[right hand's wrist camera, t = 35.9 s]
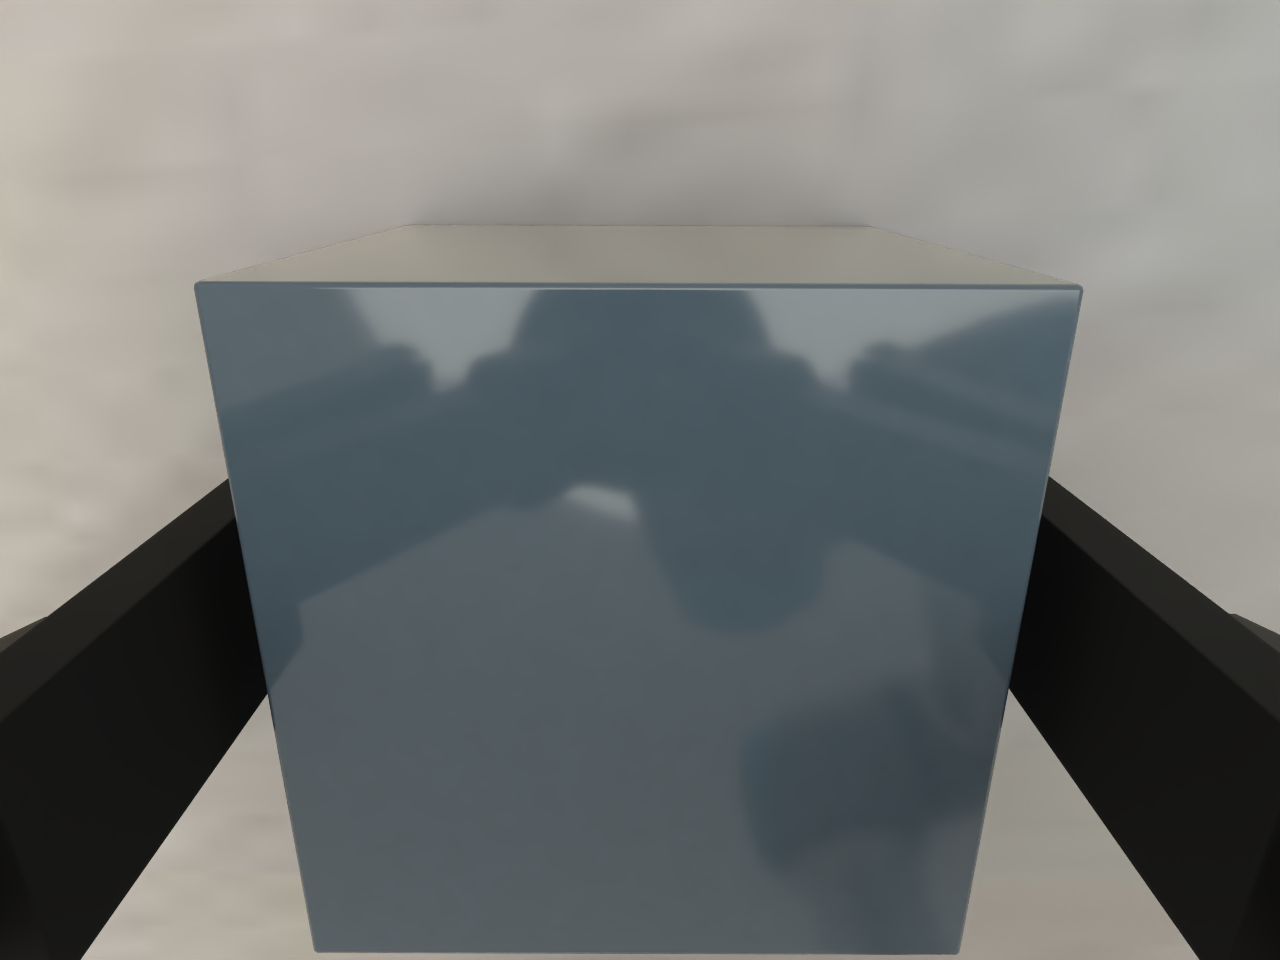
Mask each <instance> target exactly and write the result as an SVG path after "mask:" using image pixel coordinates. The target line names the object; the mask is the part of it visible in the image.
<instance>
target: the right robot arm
mask: <svg viewBox="0 0 1280 960" xmlns="http://www.w3.org/2000/svg"><path fill="white" fill-rule="evenodd" d="M1009 689H1010V691H1011V692H1012V693H1013V695H1014V696H1015V698H1016V699H1017V701H1018V702H1019V703H1020V705H1021V706H1022V708H1023V709H1024V711H1025V712H1026V713H1027V715H1028V716H1029V718H1030V719H1031V721H1032V722H1033V723H1034V725H1035V726H1036V728H1037V729H1038V730H1039V732H1040V733H1041V735H1042V736H1043V738H1044V739H1045V740H1046V742H1047V743H1048V745H1049V746H1050V748H1051V749H1052V750H1053V752H1054V753H1055V755H1056V756H1057V758H1058V759H1059V760H1060V762H1061V763H1062V765H1063V766H1064V768H1065V769H1066V770H1067V772H1068V773H1069V775H1070V776H1071V777H1072V779H1073V780H1074V782H1075V783H1076V785H1077V786H1078V787H1079V789H1080V790H1081V792H1082V793H1083V795H1084V796H1085V797H1086V799H1087V800H1088V802H1089V803H1090V805H1091V806H1092V807H1093V809H1094V810H1095V812H1096V813H1097V814H1098V816H1099V817H1100V819H1101V820H1102V822H1103V823H1104V824H1105V826H1106V827H1107V829H1108V830H1109V832H1110V833H1111V834H1112V836H1113V837H1114V839H1115V840H1116V842H1117V843H1118V844H1119V846H1120V847H1121V849H1122V850H1123V851H1124V853H1125V854H1126V856H1127V857H1128V859H1129V860H1130V861H1131V863H1132V864H1133V866H1134V867H1135V869H1136V870H1137V871H1138V873H1139V874H1140V876H1141V877H1142V879H1143V880H1144V881H1145V883H1146V884H1147V886H1148V887H1149V888H1150V890H1151V891H1152V893H1153V894H1154V896H1155V897H1156V898H1157V900H1158V901H1159V903H1160V904H1161V906H1162V907H1163V908H1164V910H1165V911H1166V913H1167V914H1168V916H1169V917H1170V918H1171V920H1172V921H1173V923H1174V924H1175V926H1176V927H1177V928H1178V930H1179V931H1180V933H1181V934H1182V935H1183V937H1184V938H1185V940H1186V941H1187V943H1188V944H1189V945H1190V947H1191V948H1192V950H1193V951H1194V953H1195V954H1196V955H1197V957H1198V958H1199V960H1280V635H1279V634H1277V633H1275V632H1273V631H1271V630H1268V629H1266V628H1264V627H1262V626H1260V625H1258V624H1256V623H1254V622H1252V621H1249V620H1247V619H1245V618H1243V617H1241V616H1239V615H1237V614H1228V613H1227V612H1226V611H1224V610H1223V609H1222V608H1221V607H1219V606H1218V605H1217V604H1215V603H1214V602H1213V601H1211V600H1210V599H1209V598H1207V597H1206V596H1205V595H1204V594H1202V593H1201V592H1200V591H1198V590H1197V589H1196V588H1194V587H1193V586H1192V585H1190V584H1189V583H1188V582H1187V581H1185V580H1184V579H1183V578H1181V577H1180V576H1179V575H1177V574H1176V573H1175V572H1174V571H1172V570H1171V569H1170V568H1168V567H1167V566H1166V565H1164V564H1163V563H1162V562H1160V561H1159V560H1158V559H1157V558H1155V557H1154V556H1153V555H1151V554H1150V553H1149V552H1147V551H1146V550H1145V549H1143V548H1142V547H1141V546H1140V545H1138V544H1137V543H1136V542H1134V541H1133V540H1132V539H1130V538H1129V537H1128V536H1126V535H1125V534H1124V533H1123V532H1121V531H1120V530H1119V529H1117V528H1116V527H1115V526H1113V525H1112V524H1111V523H1109V522H1108V521H1107V520H1106V519H1104V518H1103V517H1102V516H1100V515H1099V514H1098V513H1096V512H1095V511H1094V510H1092V509H1091V508H1090V507H1089V506H1087V505H1086V504H1085V503H1083V502H1082V501H1081V500H1079V499H1078V498H1077V497H1075V496H1074V495H1073V494H1072V493H1070V492H1069V491H1068V490H1066V489H1065V488H1064V487H1062V486H1061V485H1060V484H1059V483H1057V482H1056V481H1055V480H1053V479H1052V478H1051V477H1049V476H1048V481H1047V487H1046V492H1045V497H1044V503H1043V508H1042V513H1041V519H1040V524H1039V529H1038V535H1037V540H1036V545H1035V551H1034V556H1033V561H1032V567H1031V572H1030V577H1029V583H1028V588H1027V593H1026V599H1025V604H1024V609H1023V615H1022V620H1021V625H1020V631H1019V636H1018V641H1017V647H1016V652H1015V657H1014V663H1013V668H1012V673H1011V679H1010V684H1009ZM267 694H268V693H267V687H266V682H265V676H264V671H263V665H262V660H261V654H260V649H259V643H258V638H257V632H256V627H255V621H254V616H253V610H252V604H251V599H250V593H249V588H248V582H247V577H246V571H245V566H244V560H243V555H242V549H241V544H240V538H239V533H238V527H237V522H236V516H235V511H234V505H233V500H232V494H231V489H230V483H229V478H228V479H227V480H225V481H224V482H223V483H222V484H220V485H219V486H218V487H216V488H215V489H214V490H212V491H211V492H210V493H208V494H207V495H206V496H205V497H203V498H202V499H201V500H199V501H198V502H197V503H195V504H194V505H193V506H191V507H190V508H189V509H188V510H186V511H185V512H184V513H182V514H181V515H180V516H178V517H177V518H176V519H174V520H173V521H172V522H171V523H169V524H168V525H167V526H165V527H164V528H163V529H161V530H160V531H159V532H157V533H156V534H155V535H154V536H152V537H151V538H150V539H148V540H147V541H146V542H144V543H143V544H142V545H140V546H139V547H138V548H137V549H135V550H134V551H133V552H131V553H130V554H129V555H127V556H126V557H125V558H124V559H122V560H121V561H120V562H118V563H117V564H116V565H114V566H113V567H112V568H110V569H109V570H108V571H107V572H105V573H104V574H103V575H101V576H100V577H99V578H97V579H96V580H95V581H93V582H92V583H91V584H90V585H88V586H87V587H86V588H84V589H83V590H82V591H80V592H79V593H78V594H76V595H75V596H74V597H73V598H71V599H70V600H69V601H67V602H66V603H65V604H63V605H62V606H61V607H59V608H58V609H57V610H56V611H54V612H53V613H52V614H50V615H49V616H48V617H44V618H42V619H40V620H38V621H36V622H34V623H32V624H29V625H27V626H25V627H23V628H21V629H19V630H17V631H15V632H13V633H11V634H8V635H6V636H4V637H2V638H0V960H81V958H82V957H83V955H84V954H85V953H86V951H87V950H88V948H89V947H90V945H91V944H92V943H93V941H94V940H95V938H96V937H97V935H98V934H99V933H100V931H101V930H102V928H103V927H104V926H105V924H106V923H107V921H108V920H109V918H110V917H111V916H112V914H113V913H114V911H115V910H116V908H117V907H118V906H119V904H120V903H121V901H122V900H123V898H124V897H125V896H126V894H127V893H128V891H129V890H130V889H131V887H132V886H133V884H134V883H135V881H136V880H137V879H138V877H139V876H140V874H141V873H142V871H143V870H144V869H145V867H146V866H147V864H148V863H149V861H150V860H151V859H152V857H153V856H154V854H155V853H156V852H157V850H158V849H159V847H160V846H161V844H162V843H163V842H164V840H165V839H166V837H167V836H168V834H169V833H170V832H171V830H172V829H173V827H174V826H175V824H176V823H177V822H178V820H179V819H180V817H181V816H182V815H183V813H184V812H185V810H186V809H187V807H188V806H189V805H190V803H191V802H192V800H193V799H194V797H195V796H196V795H197V793H198V792H199V790H200V789H201V787H202V786H203V785H204V783H205V782H206V780H207V779H208V777H209V776H210V775H211V773H212V772H213V770H214V769H215V768H216V766H217V765H218V763H219V762H220V760H221V759H222V758H223V756H224V755H225V753H226V752H227V750H228V749H229V748H230V746H231V745H232V743H233V742H234V740H235V739H236V738H237V736H238V735H239V733H240V732H241V731H242V729H243V728H244V726H245V725H246V723H247V722H248V721H249V719H250V718H251V716H252V715H253V713H254V712H255V711H256V709H257V708H258V706H259V705H260V703H261V702H262V701H263V699H264V698H265V696H266V695H267Z"/></svg>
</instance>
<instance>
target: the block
mask: <svg viewBox="0 0 1280 960" xmlns="http://www.w3.org/2000/svg"><path fill="white" fill-rule="evenodd" d="M194 290H195V296H196V301H197V307H198V312H199V318H200V323H201V329H202V334H203V340H204V345H205V351H206V356H207V362H208V367H209V373H210V378H211V384H212V389H213V395H214V400H215V406H216V411H217V417H218V423H219V428H220V434H221V439H222V445H223V450H224V456H225V461H226V467H227V472H228V478H229V483H230V489H231V494H232V500H233V505H234V511H235V516H236V522H237V527H238V533H239V538H240V544H241V549H242V555H243V560H244V566H245V571H246V577H247V582H248V588H249V593H250V599H251V604H252V610H253V616H254V621H255V627H256V632H257V638H258V643H259V649H260V654H261V660H262V665H263V671H264V676H265V682H266V687H267V693H268V698H269V704H270V709H271V715H272V720H273V726H274V731H275V737H276V742H277V748H278V753H279V759H280V764H281V770H282V775H283V781H284V786H285V792H286V797H287V803H288V808H289V814H290V820H291V825H292V831H293V836H294V842H295V847H296V853H297V858H298V864H299V869H300V875H301V880H302V886H303V891H304V897H305V902H306V908H307V913H308V919H309V924H310V930H311V935H312V941H313V946H314V951H315V952H318V953H570V954H852V955H956V954H958V953H959V950H960V945H961V940H962V934H963V929H964V924H965V918H966V913H967V908H968V902H969V897H970V892H971V886H972V881H973V876H974V870H975V865H976V860H977V854H978V849H979V844H980V838H981V833H982V828H983V822H984V817H985V812H986V806H987V801H988V796H989V790H990V785H991V780H992V774H993V769H994V764H995V758H996V753H997V748H998V742H999V737H1000V732H1001V726H1002V721H1003V716H1004V711H1005V705H1006V700H1007V695H1008V689H1009V684H1010V679H1011V673H1012V668H1013V663H1014V657H1015V652H1016V647H1017V641H1018V636H1019V631H1020V625H1021V620H1022V615H1023V609H1024V604H1025V599H1026V593H1027V588H1028V583H1029V577H1030V572H1031V567H1032V561H1033V556H1034V551H1035V545H1036V540H1037V535H1038V529H1039V524H1040V519H1041V513H1042V508H1043V503H1044V497H1045V492H1046V487H1047V481H1048V476H1049V471H1050V465H1051V460H1052V455H1053V449H1054V444H1055V439H1056V433H1057V428H1058V423H1059V417H1060V412H1061V407H1062V401H1063V396H1064V391H1065V385H1066V380H1067V375H1068V369H1069V364H1070V359H1071V353H1072V348H1073V343H1074V337H1075V332H1076V327H1077V321H1078V316H1079V311H1080V305H1081V300H1082V295H1083V287H1082V286H1080V285H1078V284H1075V283H1071V282H1068V281H1064V280H1061V279H1057V278H1053V277H1050V276H1046V275H1043V274H1039V273H1035V272H1032V271H1028V270H1025V269H1021V268H1018V267H1014V266H1010V265H1007V264H1003V263H1000V262H996V261H992V260H989V259H985V258H982V257H978V256H974V255H971V254H967V253H964V252H960V251H956V250H953V249H949V248H946V247H942V246H939V245H935V244H931V243H928V242H924V241H921V240H917V239H913V238H910V237H906V236H903V235H899V234H895V233H892V232H888V231H885V230H881V229H877V228H874V227H819V226H559V225H406V226H403V227H399V228H395V229H391V230H388V231H384V232H380V233H376V234H373V235H369V236H365V237H362V238H358V239H354V240H350V241H347V242H343V243H339V244H335V245H332V246H328V247H324V248H320V249H317V250H313V251H309V252H306V253H302V254H298V255H294V256H291V257H287V258H283V259H279V260H276V261H272V262H268V263H264V264H261V265H257V266H253V267H250V268H246V269H242V270H238V271H235V272H231V273H227V274H223V275H220V276H216V277H212V278H209V279H205V280H201V281H198V282H196V283H195V285H194Z"/></svg>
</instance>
